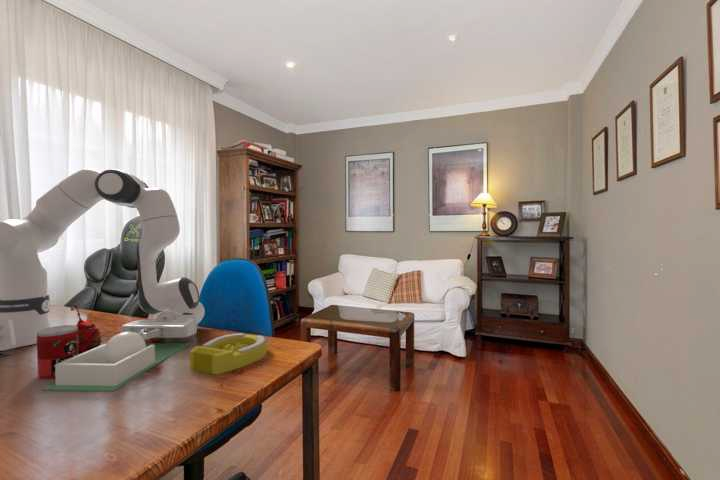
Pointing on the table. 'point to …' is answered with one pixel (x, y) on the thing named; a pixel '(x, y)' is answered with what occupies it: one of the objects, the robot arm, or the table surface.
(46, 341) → the canned food
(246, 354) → the olive green tray
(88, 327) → the red clay folk toy
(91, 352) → the white chevron barrier
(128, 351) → the ball
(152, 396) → the table surface
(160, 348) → the green mat
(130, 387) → the table surface
